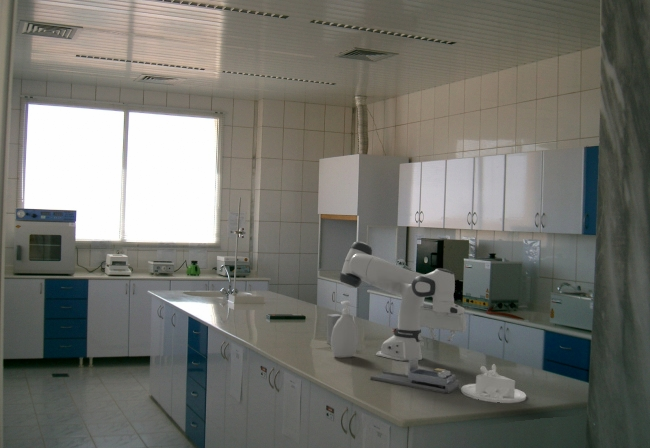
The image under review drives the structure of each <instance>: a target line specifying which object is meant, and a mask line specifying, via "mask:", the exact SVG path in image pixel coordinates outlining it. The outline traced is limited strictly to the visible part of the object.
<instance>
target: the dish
mask: <svg viewBox="0 0 650 448" xmlns="http://www.w3.org/2000/svg"><path fill="white" fill-rule="evenodd" d="M479 370H480V372H481V374H476V375H475V383H468V384H464V385H463V386H462V387H460V391H461V394H463V395H464V396H466V397H469V398H471V399H474V400H478V399H479V400H478V401H484V402H491V403H497V402H500V404H501V403H502V404H512V403H513V404H514V403H520V402H524V401H526V399H527V395H526V393H525V392H524V391H521V390H520V389H517V388H515V387H516V380H515V379H514V380H513V379H511V378H509V377H507V376H503V375H501V374H499V373H498V372H497V366H496V364H495V363H493V364H492V365H491V369H489V370H488V369H487V368H486V366H485V365H481V366H480V368H479Z"/></svg>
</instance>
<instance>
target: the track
mask: <svg viewBox="0 0 650 448" xmlns="http://www.w3.org/2000/svg"><path fill="white" fill-rule="evenodd" d="M370 380H372V381H378V382H383V383H388V384H395V385H400V386H404V387H410V388H416V389H420V390H426V391H431V390H432V391H431V392H438V393H442V394H448V395H449V394H450V393H452V392H454V391H456V390H457V389H460V383H459V382H460V380H459V379H455V381H453V382H451V383H449V384H447V385H446V386H445V389H441V388H440V386H441V385H437V384H431V383H425V382H420V381H417V383H416V384H414V383H412V380H409V379H408V374H402V373H397V372H393V371H386V370H383V371H382V372H381V373H380V374H376V375H370Z"/></svg>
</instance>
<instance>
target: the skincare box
mask: <svg viewBox="0 0 650 448" xmlns="http://www.w3.org/2000/svg"><path fill="white" fill-rule="evenodd" d="M341 316H342V314H339V313H334V314H326V344H327V345H330V346H331V336H332V331H333V327H334V325H335V324H336V322H337V320H338V319H339V318H340V317H341Z"/></svg>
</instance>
